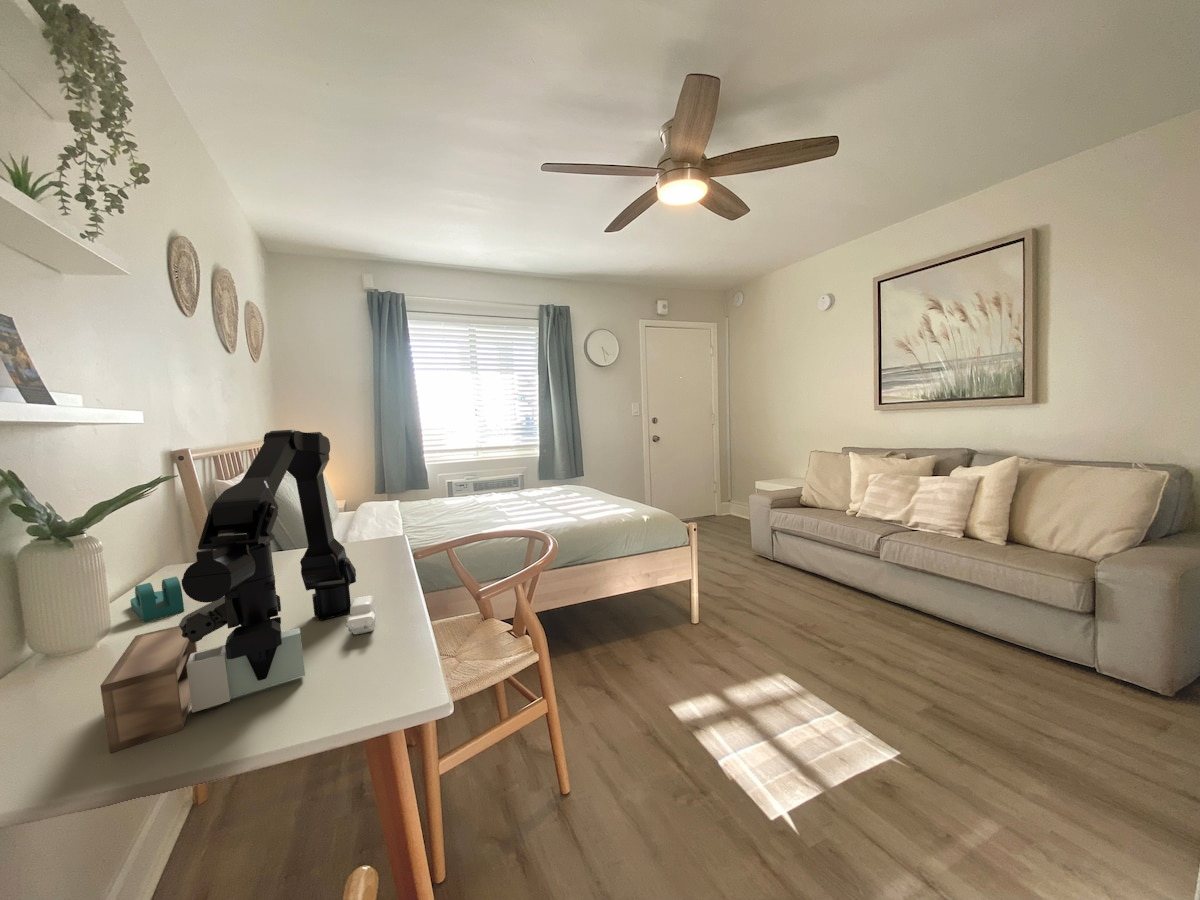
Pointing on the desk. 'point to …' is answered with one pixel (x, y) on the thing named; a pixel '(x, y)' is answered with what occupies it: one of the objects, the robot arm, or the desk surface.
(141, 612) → the bracket
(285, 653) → the grey block with opening
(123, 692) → the cabinet
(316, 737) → the desk surface
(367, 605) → the power adapter
